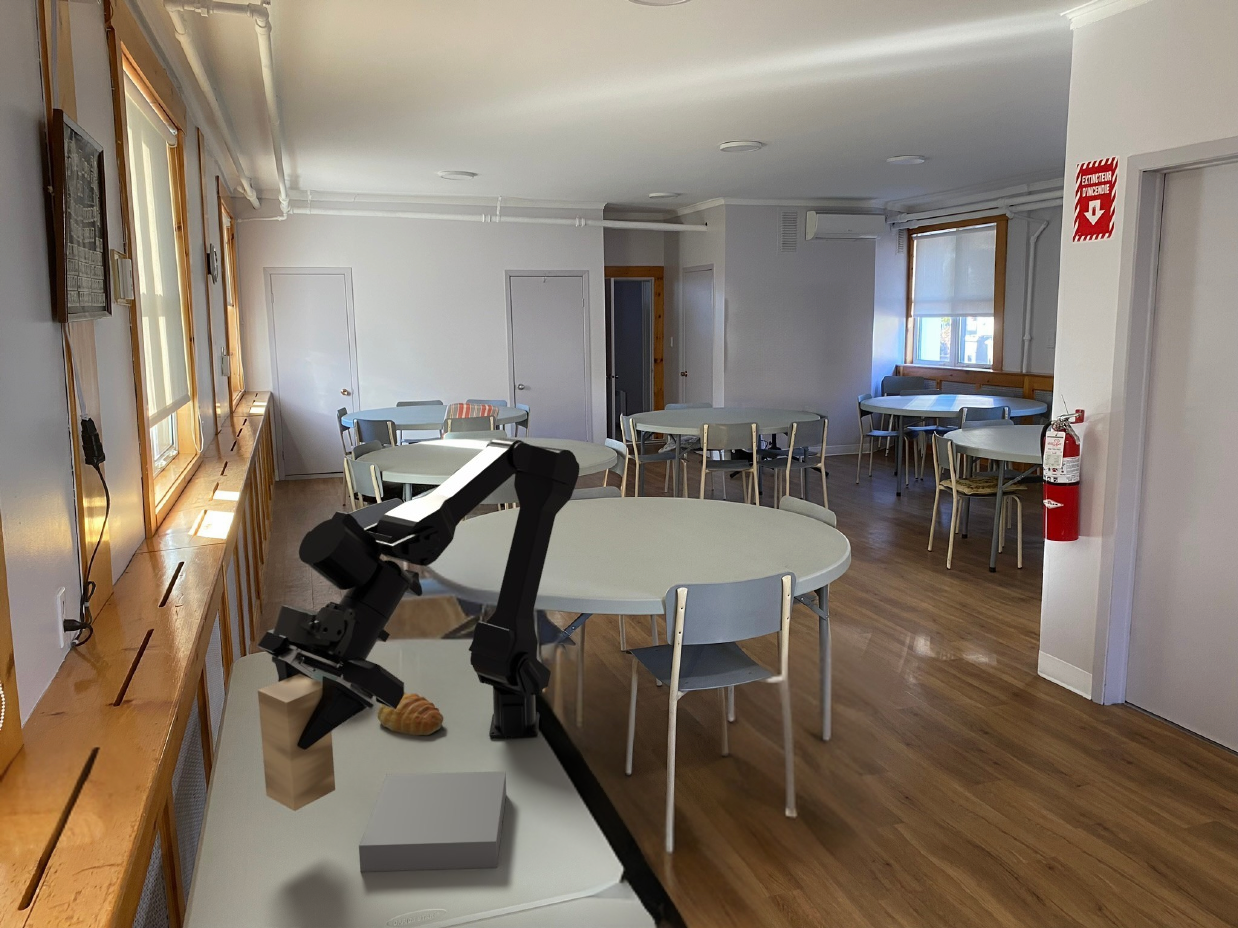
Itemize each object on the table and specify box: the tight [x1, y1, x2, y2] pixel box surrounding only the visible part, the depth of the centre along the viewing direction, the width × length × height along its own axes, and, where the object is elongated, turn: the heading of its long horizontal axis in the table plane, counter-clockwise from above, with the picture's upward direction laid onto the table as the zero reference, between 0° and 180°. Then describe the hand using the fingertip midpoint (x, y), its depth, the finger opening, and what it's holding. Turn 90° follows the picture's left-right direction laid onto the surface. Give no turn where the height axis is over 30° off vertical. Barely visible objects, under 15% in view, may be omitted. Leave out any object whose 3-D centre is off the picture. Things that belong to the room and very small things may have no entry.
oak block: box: [257, 674, 336, 812], centre depth 96 cm, size 5×5×12 cm
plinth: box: [358, 770, 507, 873], centre depth 101 cm, size 14×14×3 cm
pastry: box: [377, 691, 444, 736], centre depth 125 cm, size 9×7×4 cm
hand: (285, 740), depth 95 cm, fingers closed on oak block, 5 cm apart
